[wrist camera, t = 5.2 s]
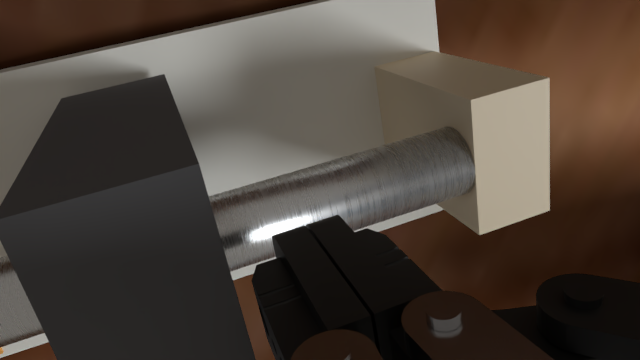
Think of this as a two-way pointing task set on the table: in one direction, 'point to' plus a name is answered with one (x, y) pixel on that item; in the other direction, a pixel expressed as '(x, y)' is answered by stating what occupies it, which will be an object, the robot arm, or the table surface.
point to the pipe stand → (311, 103)
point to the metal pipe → (306, 205)
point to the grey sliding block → (122, 234)
